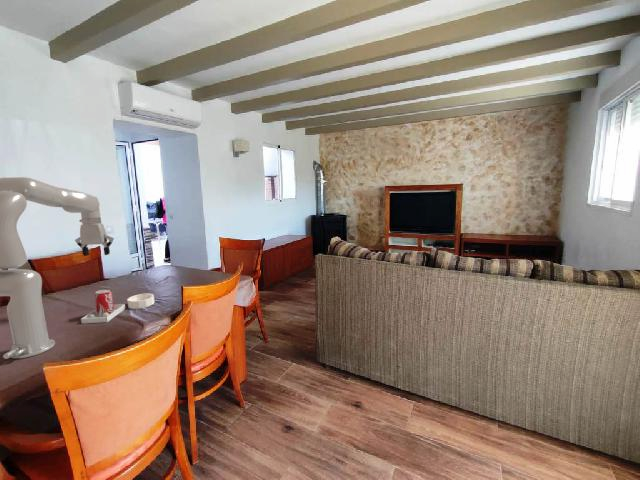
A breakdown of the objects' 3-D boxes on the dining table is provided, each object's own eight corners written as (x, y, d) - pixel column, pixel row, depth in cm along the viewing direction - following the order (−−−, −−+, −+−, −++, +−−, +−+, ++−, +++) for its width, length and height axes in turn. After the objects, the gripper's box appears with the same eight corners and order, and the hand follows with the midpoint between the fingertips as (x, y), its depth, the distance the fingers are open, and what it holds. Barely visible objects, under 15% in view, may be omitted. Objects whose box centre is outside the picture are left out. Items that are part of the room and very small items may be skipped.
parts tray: (107, 322, 137) (106, 317, 137) (81, 324, 136) (80, 318, 135) (125, 308, 153) (125, 304, 152) (102, 310, 151) (101, 305, 151)
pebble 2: (107, 320, 139) (106, 313, 138) (100, 320, 138) (99, 314, 138) (111, 317, 142) (110, 311, 141) (104, 317, 141) (103, 311, 141)
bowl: (148, 308, 153) (147, 300, 152) (123, 309, 152) (122, 302, 151) (157, 299, 165) (157, 292, 164) (135, 301, 163) (134, 294, 163)
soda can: (105, 318, 141) (102, 294, 139) (93, 317, 142) (89, 293, 140) (118, 312, 148) (115, 289, 146) (106, 311, 149) (103, 288, 147)
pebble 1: (93, 321, 138) (92, 315, 137) (86, 322, 137) (85, 315, 137) (97, 318, 141) (96, 312, 140) (90, 319, 140) (89, 313, 140)
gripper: (67, 222, 143) (73, 257, 146) (106, 221, 145) (111, 255, 148) (77, 221, 150) (83, 254, 153) (114, 220, 152) (119, 252, 155)
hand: (96, 255), depth 151 cm, fingers open, 9 cm apart
